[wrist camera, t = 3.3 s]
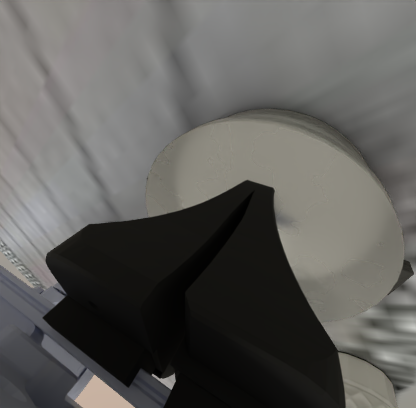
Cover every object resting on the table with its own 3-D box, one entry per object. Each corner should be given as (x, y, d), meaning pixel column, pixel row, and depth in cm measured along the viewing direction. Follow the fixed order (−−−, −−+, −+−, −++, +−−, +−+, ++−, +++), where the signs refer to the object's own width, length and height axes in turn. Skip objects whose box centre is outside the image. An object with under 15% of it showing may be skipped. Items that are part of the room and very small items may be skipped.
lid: (319, 334, 14) (317, 368, 13) (163, 257, 19) (147, 276, 17) (512, 164, 6) (577, 205, 4) (142, 91, 10) (107, 99, 8)
